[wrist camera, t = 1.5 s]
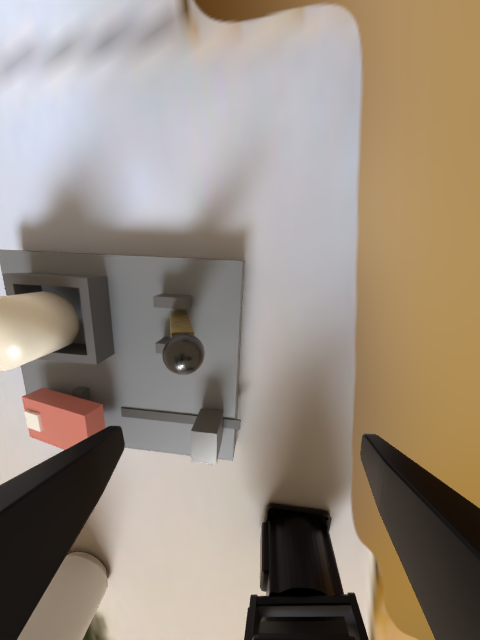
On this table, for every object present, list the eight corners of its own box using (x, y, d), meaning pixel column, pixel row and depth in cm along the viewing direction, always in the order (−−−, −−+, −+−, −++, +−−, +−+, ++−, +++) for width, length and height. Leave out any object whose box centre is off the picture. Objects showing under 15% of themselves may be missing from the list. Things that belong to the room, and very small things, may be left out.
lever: (192, 308, 18) (208, 339, 11) (192, 335, 19) (207, 380, 12) (162, 309, 18) (161, 342, 11) (163, 336, 18) (162, 385, 11)
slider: (223, 410, 20) (217, 433, 17) (222, 438, 21) (216, 464, 18) (200, 408, 20) (190, 431, 17) (200, 435, 21) (191, 461, 18)
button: (75, 292, 17) (19, 301, 13) (82, 349, 18) (32, 373, 14) (20, 289, 17) (-51, 296, 13) (30, 345, 18) (-33, 367, 14)
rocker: (102, 404, 19) (82, 417, 17) (107, 445, 20) (88, 461, 18) (42, 387, 21) (19, 398, 19) (49, 425, 22) (27, 438, 20)
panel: (250, 261, 19) (246, 260, 15) (240, 444, 23) (235, 483, 19) (22, 250, 21) (-37, 247, 17) (52, 423, 25) (11, 454, 21)
